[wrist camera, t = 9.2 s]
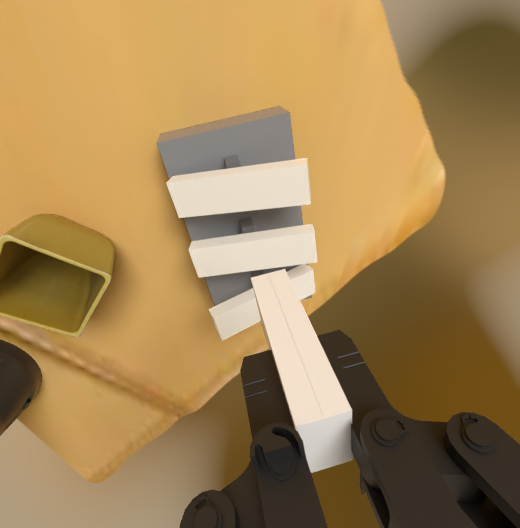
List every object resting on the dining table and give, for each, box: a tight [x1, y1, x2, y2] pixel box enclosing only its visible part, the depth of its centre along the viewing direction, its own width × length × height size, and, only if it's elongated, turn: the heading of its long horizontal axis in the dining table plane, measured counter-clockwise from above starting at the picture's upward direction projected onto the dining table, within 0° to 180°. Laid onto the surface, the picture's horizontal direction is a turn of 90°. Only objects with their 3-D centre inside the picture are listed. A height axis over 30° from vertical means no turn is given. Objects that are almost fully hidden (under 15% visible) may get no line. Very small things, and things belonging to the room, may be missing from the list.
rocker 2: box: [189, 224, 317, 278], centre depth 31 cm, size 12×3×2 cm, turn 100°
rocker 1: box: [166, 158, 311, 218], centre depth 28 cm, size 12×3×2 cm, turn 101°
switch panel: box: [157, 106, 312, 306], centre depth 35 cm, size 12×22×6 cm, turn 11°
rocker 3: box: [208, 264, 315, 341], centre depth 35 cm, size 12×3×2 cm, turn 101°
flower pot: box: [0, 214, 115, 337], centre depth 32 cm, size 9×9×9 cm
